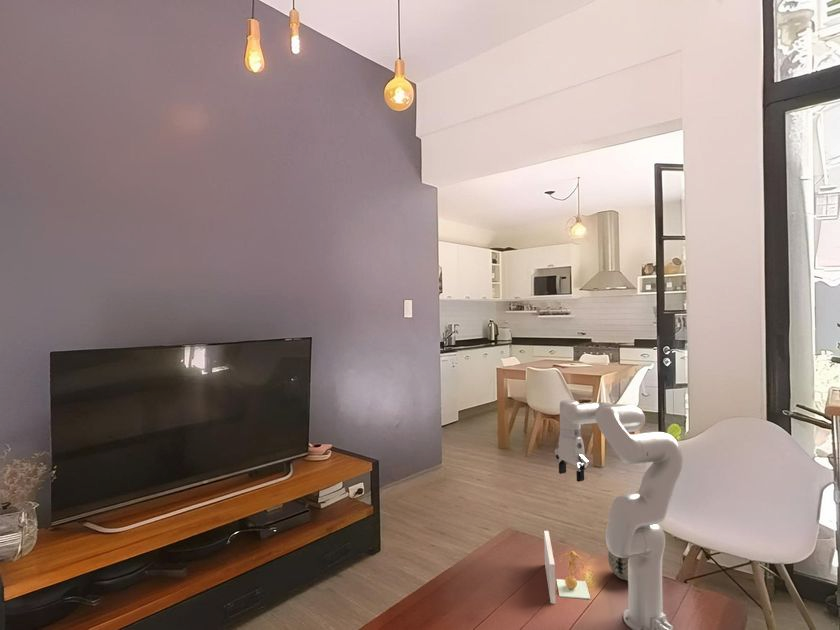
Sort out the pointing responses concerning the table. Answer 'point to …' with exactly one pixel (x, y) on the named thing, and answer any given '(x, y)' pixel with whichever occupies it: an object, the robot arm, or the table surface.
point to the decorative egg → (618, 566)
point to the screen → (549, 567)
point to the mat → (573, 590)
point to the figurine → (571, 580)
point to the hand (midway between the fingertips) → (571, 476)
